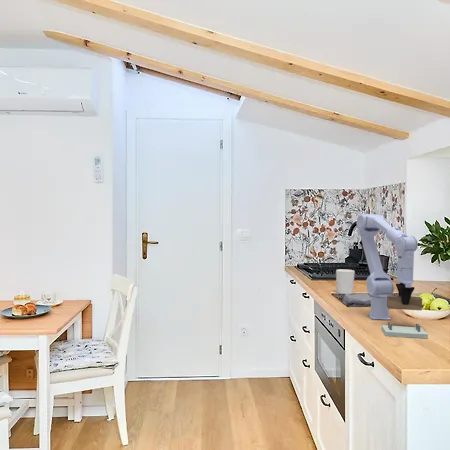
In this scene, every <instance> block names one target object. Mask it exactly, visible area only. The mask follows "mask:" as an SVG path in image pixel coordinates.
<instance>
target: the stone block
mask: <svg viewBox="0 0 450 450" xmlns="http://www.w3.org/2000/svg"><path fill="white" fill-rule="evenodd" d="M343 301H344V302H346V303H347V304H352V303H354V305H356V304H357V305H371V296H370V294H369V293H367V292H366V293H365V292H360V293H355V294H353V293H352V294H344V296H343Z"/></svg>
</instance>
